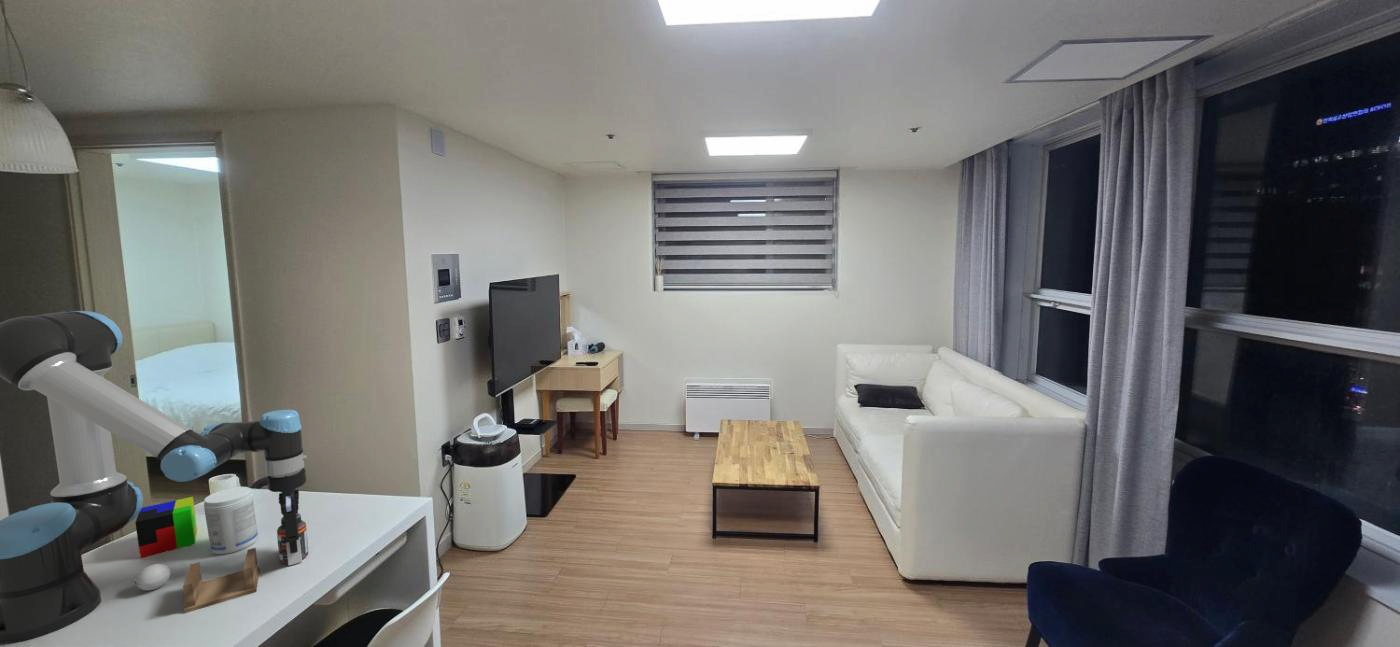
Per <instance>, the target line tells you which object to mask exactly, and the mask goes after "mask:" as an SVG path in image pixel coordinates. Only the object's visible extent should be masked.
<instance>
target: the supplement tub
mask: <svg viewBox="0 0 1400 647" xmlns="http://www.w3.org/2000/svg"><path fill="white" fill-rule="evenodd" d="M203 507H204V508H203V509H204V514H205V522H206V528H207V534H208V540H209V541H208V542H209V546H210V551H211V552H212V553H213V554H215V555H226V554H232V553H235V552H238V551H241V550H243V549H247V548H249V547H250V546H252V545H253V544H254V543H255V542H257V540H258V538H259V533H258V532H259V531H258V524H257V519H256V512H255V504H254V496H253V493H252V488H250V487H248V486H236V487H229V488H226V489H222V490H219V491H216V492H213V493H210V494H209V495H208V496H207V497H205V498H204V499H203Z"/></svg>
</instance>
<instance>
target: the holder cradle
mask: <svg viewBox="0 0 1400 647" xmlns="http://www.w3.org/2000/svg"><path fill="white" fill-rule="evenodd" d="M243 565H244V567H243V570H239V571H236V572H232V573H228V574H225V575H221V576H218V577H214V578H211V579H206V580H202V579H203V578H202V571H201V564H200V561H199V562H195V563H194V562H193V563H190V565H189V568H188V571H187V573H186V576H185V578H184V581H183V585H182V591H183V598H184V600H183V601H184V608H183V613H184V614H185V613H190V612H192V611H193V612H194V611H196V610H199V609H203V608H206V607H210V606H213V605H216V604H220V603H223V602H226V601H230V600H233V599H235V598H236V599H237V598H239V597H240V598H241V597H242V596H243V597H244V596H247V595H251V594H253V593H256V592H257V590H258V584H259V583H258V582H259V577H260V576H259V575H260V570H261V569H260V565H258V557H257V549H256V547H252V548H249V549H247V550H246V556H245V561H244V564H243Z"/></svg>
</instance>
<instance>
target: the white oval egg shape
mask: <svg viewBox="0 0 1400 647" xmlns="http://www.w3.org/2000/svg"><path fill="white" fill-rule="evenodd" d="M170 576H171V570H170V567H169V566H167V565H166V564H162V563H154V564H151V565H148V566H146V567H144V568H143V569H141V570H140V571H139V572H138V574H137V576H136V577H135V582H134V583H135V585H136V587H137V588H139V589H140V590H141V591H142V590H143V591H154V590H156V589H159V588H160V587H162V586H164V585H165V584H166V583H167V582H168V581H169V579H170ZM132 581H134V579H133V580H131V582H132ZM128 582H130V581H125V582H124V584H125V583H128Z"/></svg>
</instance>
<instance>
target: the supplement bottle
mask: <svg viewBox="0 0 1400 647" xmlns="http://www.w3.org/2000/svg"><path fill="white" fill-rule="evenodd" d="M297 524H298V535H299V537H300V545H301V555H302V560H303V559H305V558H306V557H307V556H308V554H309V542H308V530H307V524H306V521H304V520H303V519H302V516H301V513H299V512H298V513H297ZM276 538H277V548H278V558H279V562H280V563H282V564H283V565H284V564H286V565H288V556H287V547H286V542H285V543H282V541H283V540H285V539H286V538H285V528H284V519H283V517H281V519H280V526H278V528H277V529H276Z"/></svg>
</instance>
